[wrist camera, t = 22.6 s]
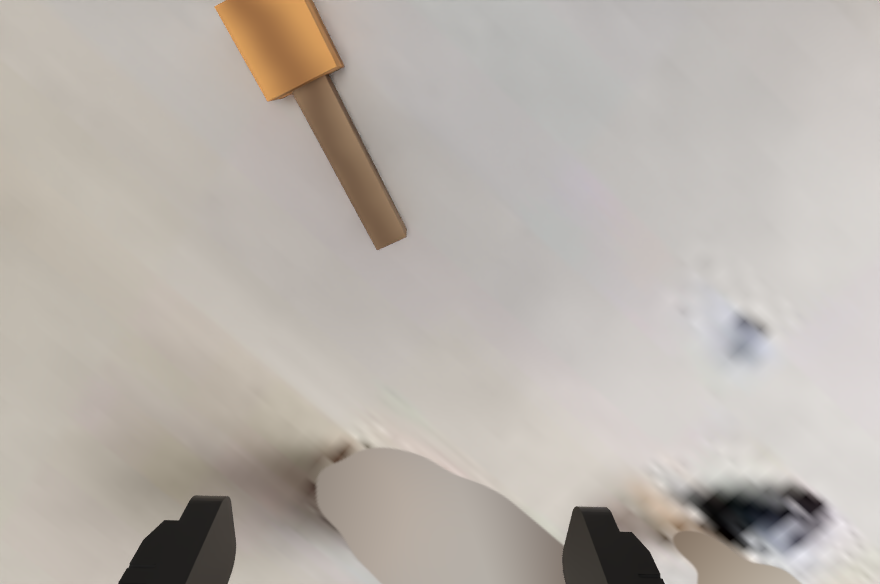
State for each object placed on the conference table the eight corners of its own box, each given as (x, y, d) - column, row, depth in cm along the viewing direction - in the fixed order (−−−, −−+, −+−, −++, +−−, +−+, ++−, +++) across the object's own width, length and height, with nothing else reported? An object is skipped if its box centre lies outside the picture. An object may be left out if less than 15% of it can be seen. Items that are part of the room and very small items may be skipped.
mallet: (301, -22, 40) (287, -34, 36) (420, 222, 49) (421, 238, 44) (236, 13, 41) (214, 6, 36) (364, 248, 49) (360, 266, 45)
